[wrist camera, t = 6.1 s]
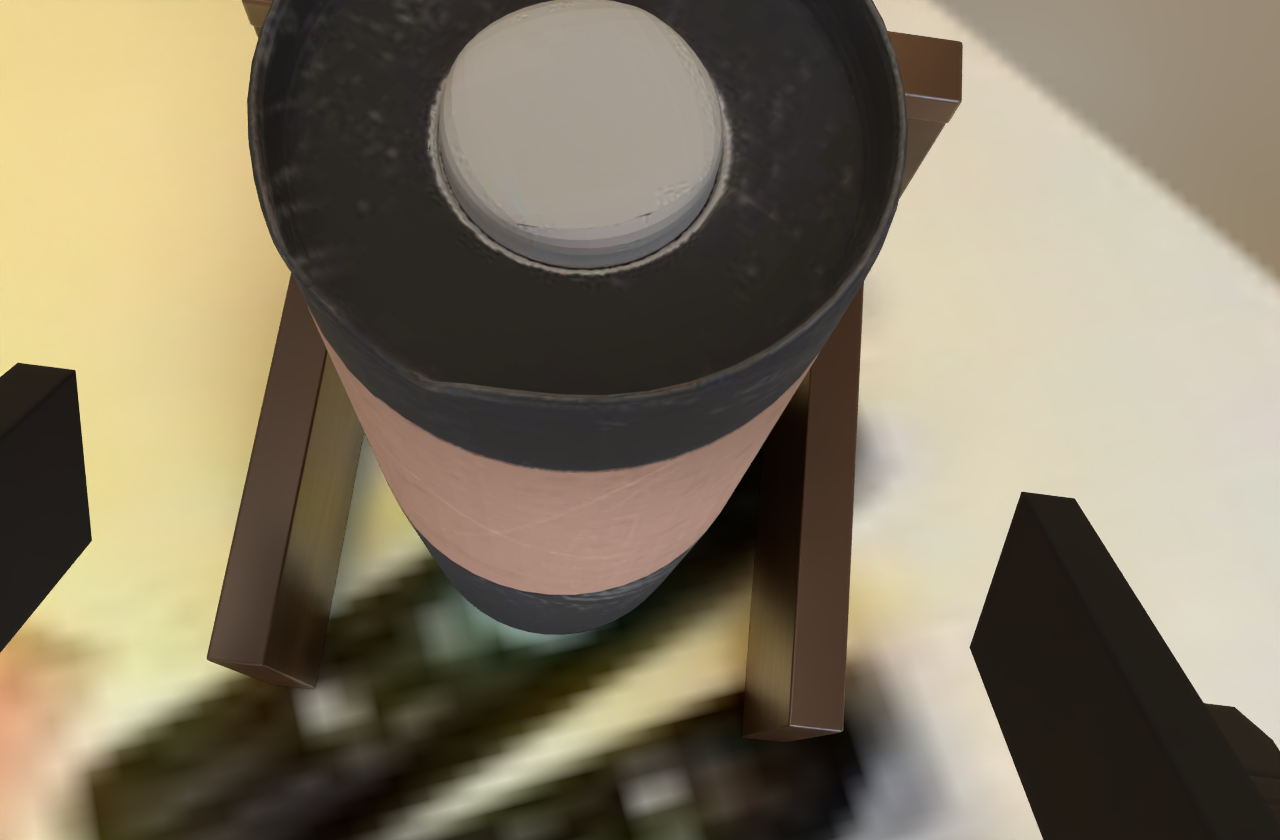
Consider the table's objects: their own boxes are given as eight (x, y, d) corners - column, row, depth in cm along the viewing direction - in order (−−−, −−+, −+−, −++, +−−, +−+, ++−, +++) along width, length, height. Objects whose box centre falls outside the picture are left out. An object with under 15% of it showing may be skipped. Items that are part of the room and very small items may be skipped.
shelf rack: (269, 684, 30) (81, 613, 17) (357, 245, 34) (255, -63, 21) (785, 742, 30) (952, 713, 18) (812, 304, 34) (964, 40, 22)
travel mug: (682, 372, 33) (876, -179, 14) (705, 637, 31) (972, 404, 12) (416, 381, 32) (243, -187, 13) (419, 654, 30) (217, 434, 11)
